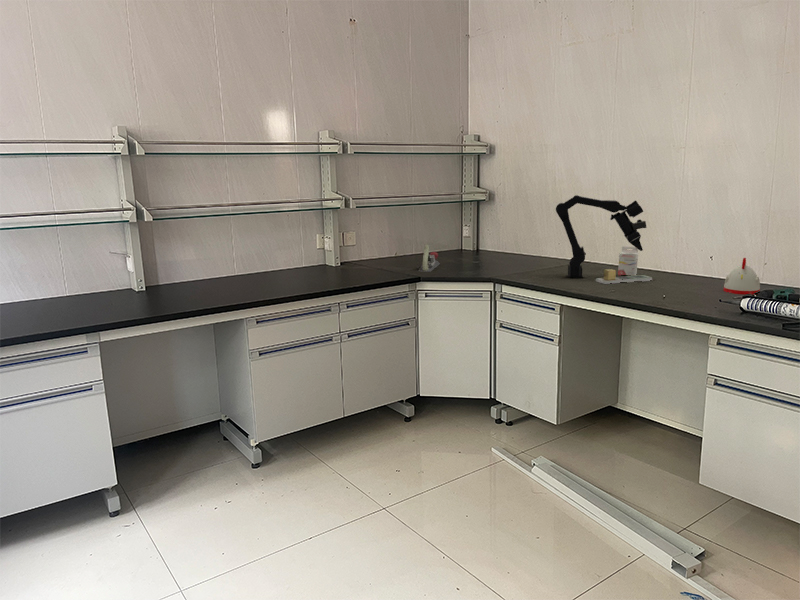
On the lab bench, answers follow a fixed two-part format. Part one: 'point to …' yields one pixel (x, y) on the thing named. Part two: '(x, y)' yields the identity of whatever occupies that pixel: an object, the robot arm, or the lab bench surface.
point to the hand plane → (429, 260)
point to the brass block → (609, 274)
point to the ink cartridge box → (628, 261)
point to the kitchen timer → (742, 280)
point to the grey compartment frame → (625, 279)
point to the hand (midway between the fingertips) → (640, 249)
